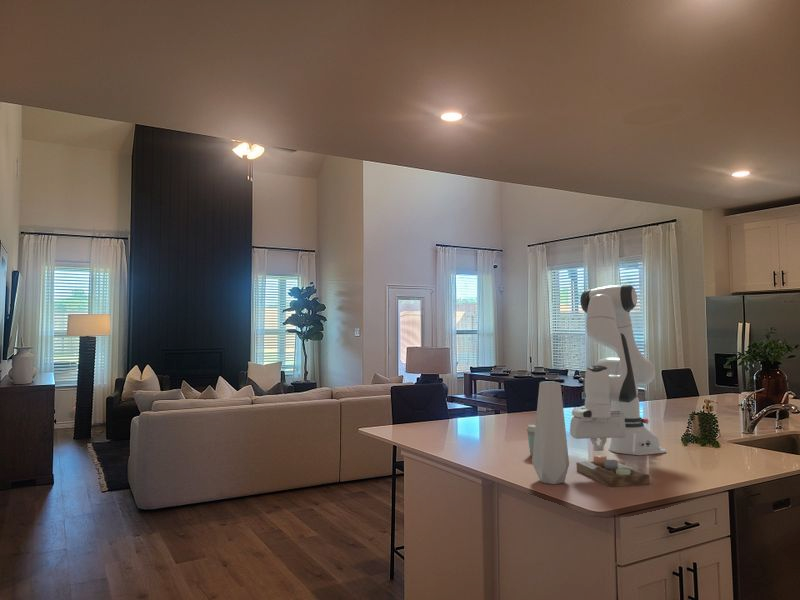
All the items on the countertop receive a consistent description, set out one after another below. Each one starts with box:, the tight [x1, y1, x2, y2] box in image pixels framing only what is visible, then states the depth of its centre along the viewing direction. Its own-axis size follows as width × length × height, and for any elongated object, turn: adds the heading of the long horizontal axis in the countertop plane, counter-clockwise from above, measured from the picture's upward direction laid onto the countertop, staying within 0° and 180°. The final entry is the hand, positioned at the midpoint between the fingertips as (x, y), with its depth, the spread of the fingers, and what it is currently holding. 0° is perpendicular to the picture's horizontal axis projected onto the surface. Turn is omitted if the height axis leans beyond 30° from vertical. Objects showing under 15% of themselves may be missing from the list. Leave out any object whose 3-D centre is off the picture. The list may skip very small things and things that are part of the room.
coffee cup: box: [526, 423, 536, 457], centre depth 224 cm, size 9×8×12 cm
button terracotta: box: [593, 454, 608, 465], centre depth 197 cm, size 4×4×3 cm
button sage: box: [616, 468, 630, 475], centre depth 183 cm, size 4×4×3 cm
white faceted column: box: [531, 381, 570, 485], centre depth 186 cm, size 12×12×33 cm
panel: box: [576, 460, 651, 488], centre depth 190 cm, size 14×22×3 cm, turn 11°
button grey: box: [604, 458, 619, 470], centre depth 190 cm, size 4×4×3 cm
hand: (598, 450), depth 197 cm, fingers closed
